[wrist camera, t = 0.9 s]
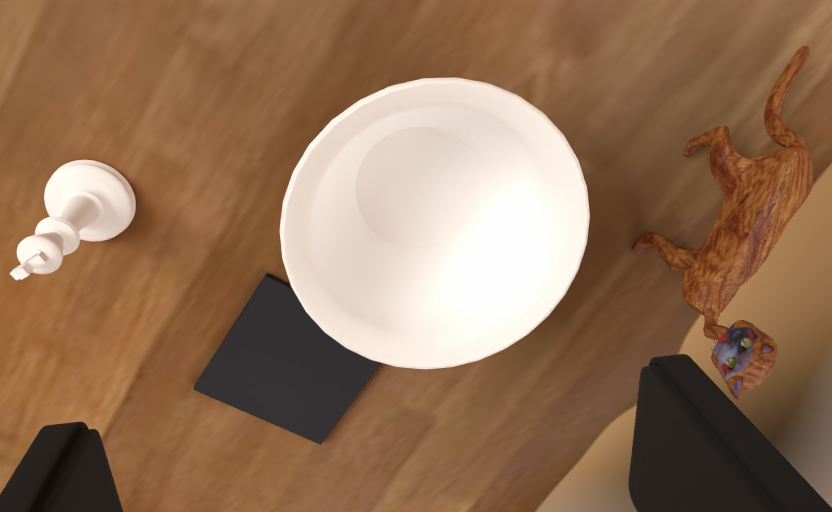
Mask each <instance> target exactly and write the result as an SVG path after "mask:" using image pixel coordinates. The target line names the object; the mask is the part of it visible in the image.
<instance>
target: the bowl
mask: <svg viewBox="0 0 832 512" xmlns="http://www.w3.org/2000/svg"><path fill="white" fill-rule="evenodd" d="M589 218H590V213H589V203H588V192H587V186H586V183H585V180H584V177H583V174H582V171H581V167H580V164H579V161H578V159H577V157H576V155H575V154H574V152H573V150H572V148H571V147H570V145H569V143H568V141H567V140H566V138H565V136H564V135H563V133H562V132H561V131H560V130H559V129H558V128H557V127H556V126H555V125H554V124H553V123H552V122H551V121H550V119H549V118H548V117H547V116H546V115H545V114H544V113H543V112H541V111H540V110H539V109H537V108H536V107H534V106H533V105H531V104H530V103H528V102H527V101H526V100H524V99H523V98H521V97H520V96H518V95H516V94H514V93H511V92H509V91H506V90H504V89H501V88H499V87H496V86H494V85H491V84H489V83H484V82H478V81H473V80H467V79H462V78H424V79H419V80H415V81H410V82H406V83H402V84H398V85H393V86H390V87H387V88H385V89H383V90H381V91H379V92H376V93H374V94H372V95H370V96H368V97H365V98H363V99H361V100H359V101H358V102H356V103H355V104H353V105H352V106H351V107H349V108H348V109H347V110H345V111H344V112H342V113H341V114H340V115H338V116H337V117H335V118H334V119H333V120H332V121H331V122H330V123H329V124H328V125H327V126H326V127H325V128H324V129H323V130H322V131H321V132H320V134H319V135H318V136H317V137H316V138H315V139H314V140H313V141H312V142H311V143H310V144H309V146H308V148H307V149H306V151H305V153H304V155H303V156H302V158H301V160H300V161H299V163H298V165H297V166H296V168H295V170H294V171H293V174H292V177H291V180H290V182H289V185H288V188H287V191H286V194H285V197H284V200H283V206H282V215H281V224H280V239H281V249H282V259H283V262H284V266H285V269H286V272H287V275H288V278H289V281H290V284H291V287H292V289H293V290H294V292H295V294H296V295H297V297H298V299H299V301H300V302H301V304H302V306H303V307H304V309H305V311H306V312H307V313H308V314H309V316H310V317H311V318H312V319H313V320H314V321H315V322H316V323H317V324H318V325H319V327H320V328H321V329H322V330H323V331H324V332H325V333H326V334H328V335H329V336H331V337H332V338H333V339H335V340H336V341H337V342H339V343H340V344H341V345H343V346H344V347H345V348H347V349H349V350H351V351H354V352H356V353H358V354H360V355H362V356H364V357H366V358H368V359H370V360H374V361H378V362H381V363H385V364H389V365H392V366H396V367H406V368H417V369H433V368H446V367H454V366H458V365H462V364H466V363H470V362H474V361H478V360H481V359H483V358H485V357H488V356H490V355H492V354H495V353H497V352H499V351H502V350H504V349H506V348H507V347H509V346H510V345H512V344H513V343H515V342H517V341H518V340H520V339H521V338H523V337H524V336H526V335H528V334H529V333H530V332H531V331H532V330H533V329H534V328H535V327H536V326H538V325H539V324H540V323H541V322H542V321H543V320H544V319H545V318H546V317H548V316H549V314H550V313H551V312H552V310H553V309H554V308H555V307H556V305H557V304H558V303H559V302H560V300H561V299H562V298H563V297H564V295H565V294H566V292H567V290H568V288H569V286H570V285H571V283H572V281H573V279H574V277H575V275H576V273H577V271H578V269H579V266H580V263H581V260H582V257H583V254H584V250H585V247H586V244H587V236H588V227H589Z"/></svg>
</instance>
